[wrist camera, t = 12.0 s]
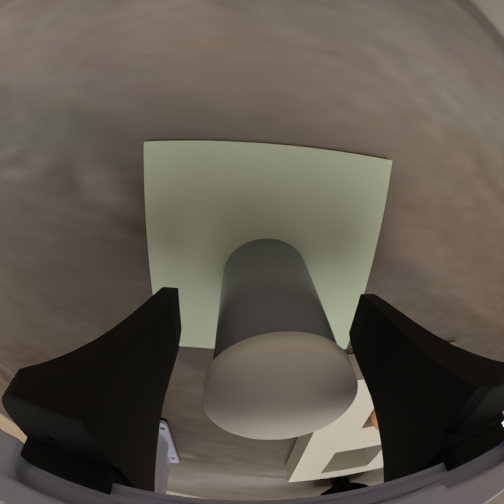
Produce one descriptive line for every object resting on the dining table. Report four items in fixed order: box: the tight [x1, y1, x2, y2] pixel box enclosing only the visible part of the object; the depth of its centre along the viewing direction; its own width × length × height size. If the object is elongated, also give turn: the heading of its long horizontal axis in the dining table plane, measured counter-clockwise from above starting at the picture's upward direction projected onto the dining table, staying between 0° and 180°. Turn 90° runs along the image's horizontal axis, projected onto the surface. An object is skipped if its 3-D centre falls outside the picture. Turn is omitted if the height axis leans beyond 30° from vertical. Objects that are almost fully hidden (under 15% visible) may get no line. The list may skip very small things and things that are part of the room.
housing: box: [286, 342, 458, 482], centre depth 22 cm, size 19×12×2 cm, turn 176°
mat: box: [144, 140, 392, 349], centre depth 15 cm, size 12×12×1 cm
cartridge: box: [203, 239, 358, 440], centre depth 12 cm, size 5×5×8 cm
